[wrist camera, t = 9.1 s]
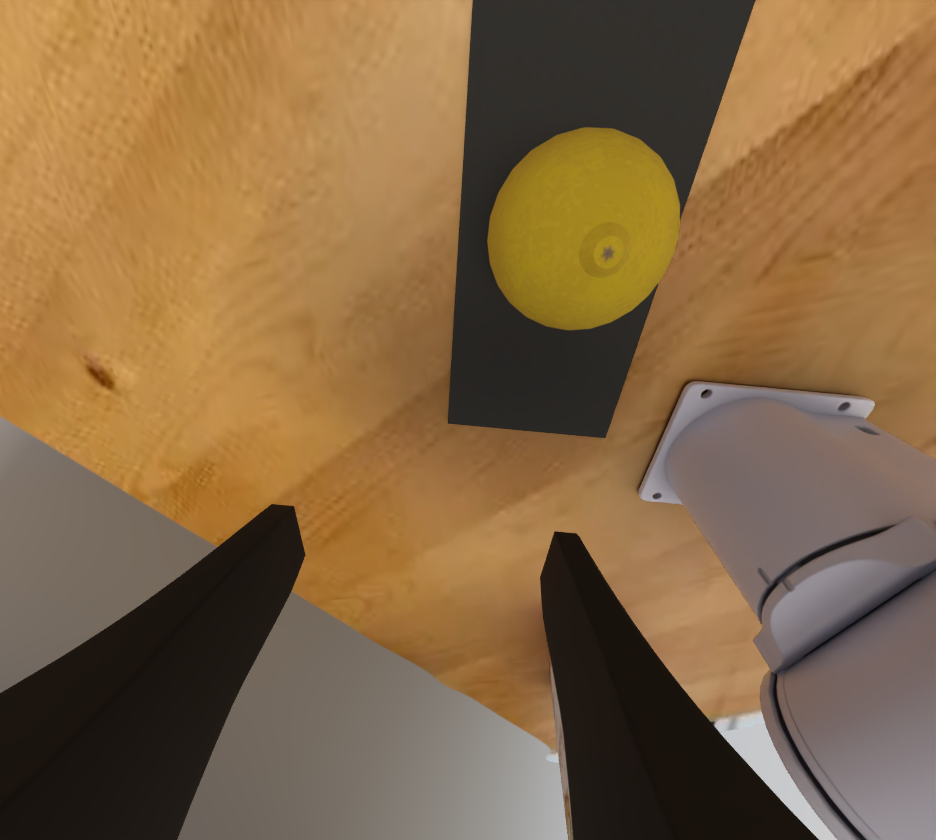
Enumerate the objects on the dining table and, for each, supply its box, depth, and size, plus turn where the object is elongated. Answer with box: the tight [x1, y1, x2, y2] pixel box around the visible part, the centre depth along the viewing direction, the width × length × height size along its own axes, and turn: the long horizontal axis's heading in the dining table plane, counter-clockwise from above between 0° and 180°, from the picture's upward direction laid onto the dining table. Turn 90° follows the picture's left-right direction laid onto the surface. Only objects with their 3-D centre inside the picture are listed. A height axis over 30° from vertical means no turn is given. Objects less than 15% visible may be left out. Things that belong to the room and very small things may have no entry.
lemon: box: [487, 127, 680, 330], centre depth 11 cm, size 6×6×8 cm
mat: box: [448, 0, 755, 438], centre depth 15 cm, size 9×20×1 cm, turn 175°
